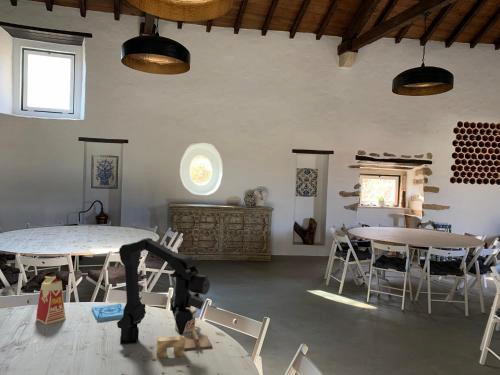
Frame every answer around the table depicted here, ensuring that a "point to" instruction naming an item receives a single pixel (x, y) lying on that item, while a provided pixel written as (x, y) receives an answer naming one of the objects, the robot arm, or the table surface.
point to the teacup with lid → (189, 322)
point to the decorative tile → (108, 312)
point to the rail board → (197, 342)
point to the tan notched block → (170, 346)
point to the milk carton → (51, 301)
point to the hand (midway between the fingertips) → (179, 329)
